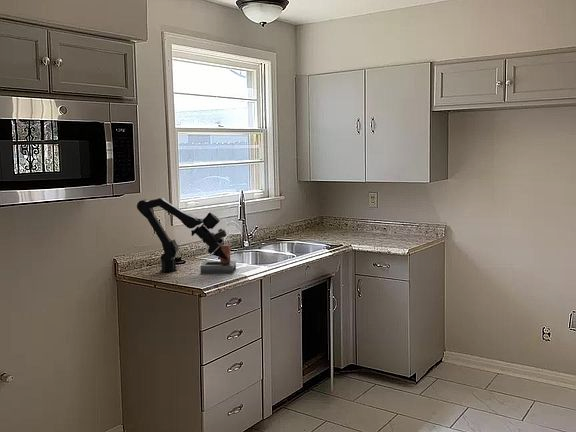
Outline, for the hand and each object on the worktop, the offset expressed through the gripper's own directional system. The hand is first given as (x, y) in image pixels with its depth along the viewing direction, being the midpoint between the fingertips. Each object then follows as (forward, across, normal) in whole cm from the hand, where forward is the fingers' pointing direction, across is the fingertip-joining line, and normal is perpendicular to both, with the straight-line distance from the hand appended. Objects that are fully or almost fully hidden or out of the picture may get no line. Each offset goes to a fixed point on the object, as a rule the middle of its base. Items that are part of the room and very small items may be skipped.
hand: (228, 257), depth 305 cm
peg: (+4, 0, +6) cm, 7 cm away
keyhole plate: (+1, 0, +8) cm, 8 cm away
